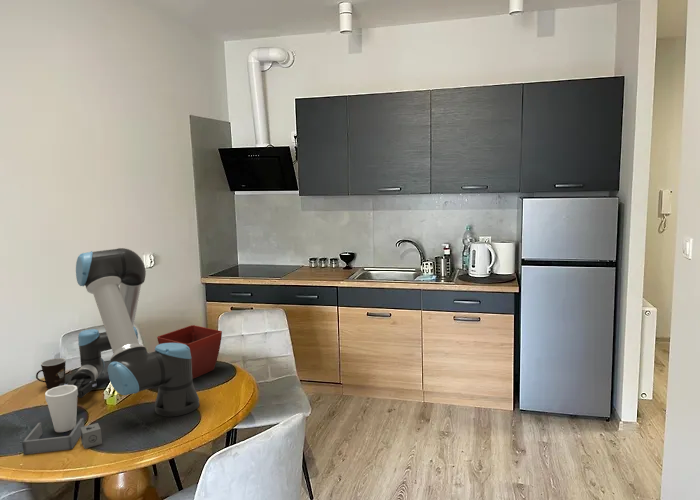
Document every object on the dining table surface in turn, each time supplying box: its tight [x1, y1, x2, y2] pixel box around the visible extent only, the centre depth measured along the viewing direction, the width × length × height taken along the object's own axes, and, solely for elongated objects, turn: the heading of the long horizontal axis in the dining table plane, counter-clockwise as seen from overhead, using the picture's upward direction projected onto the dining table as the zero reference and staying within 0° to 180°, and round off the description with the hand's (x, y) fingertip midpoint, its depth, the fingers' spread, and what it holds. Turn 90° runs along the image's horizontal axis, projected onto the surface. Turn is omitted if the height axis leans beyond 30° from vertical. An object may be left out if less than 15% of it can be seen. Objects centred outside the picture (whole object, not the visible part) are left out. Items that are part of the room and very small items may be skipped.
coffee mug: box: [35, 357, 66, 390], centre depth 211 cm, size 12×9×10 cm
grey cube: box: [80, 422, 103, 449], centre depth 166 cm, size 5×5×5 cm
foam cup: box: [44, 385, 78, 433], centre depth 176 cm, size 10×9×13 cm
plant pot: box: [156, 324, 223, 380], centre depth 222 cm, size 19×19×17 cm
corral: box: [21, 417, 85, 455], centre depth 167 cm, size 14×13×4 cm
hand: (63, 404), depth 180 cm, fingers closed
